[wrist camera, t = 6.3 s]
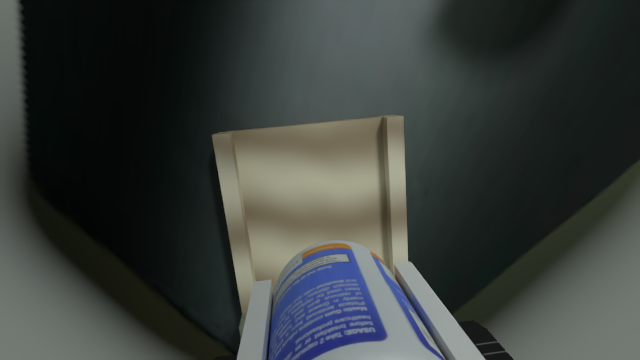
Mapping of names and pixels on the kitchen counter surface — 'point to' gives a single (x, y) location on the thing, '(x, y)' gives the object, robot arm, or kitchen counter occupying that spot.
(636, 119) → the kitchen counter surface
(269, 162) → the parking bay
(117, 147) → the kitchen counter surface
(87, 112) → the kitchen counter surface
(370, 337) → the pill bottle
